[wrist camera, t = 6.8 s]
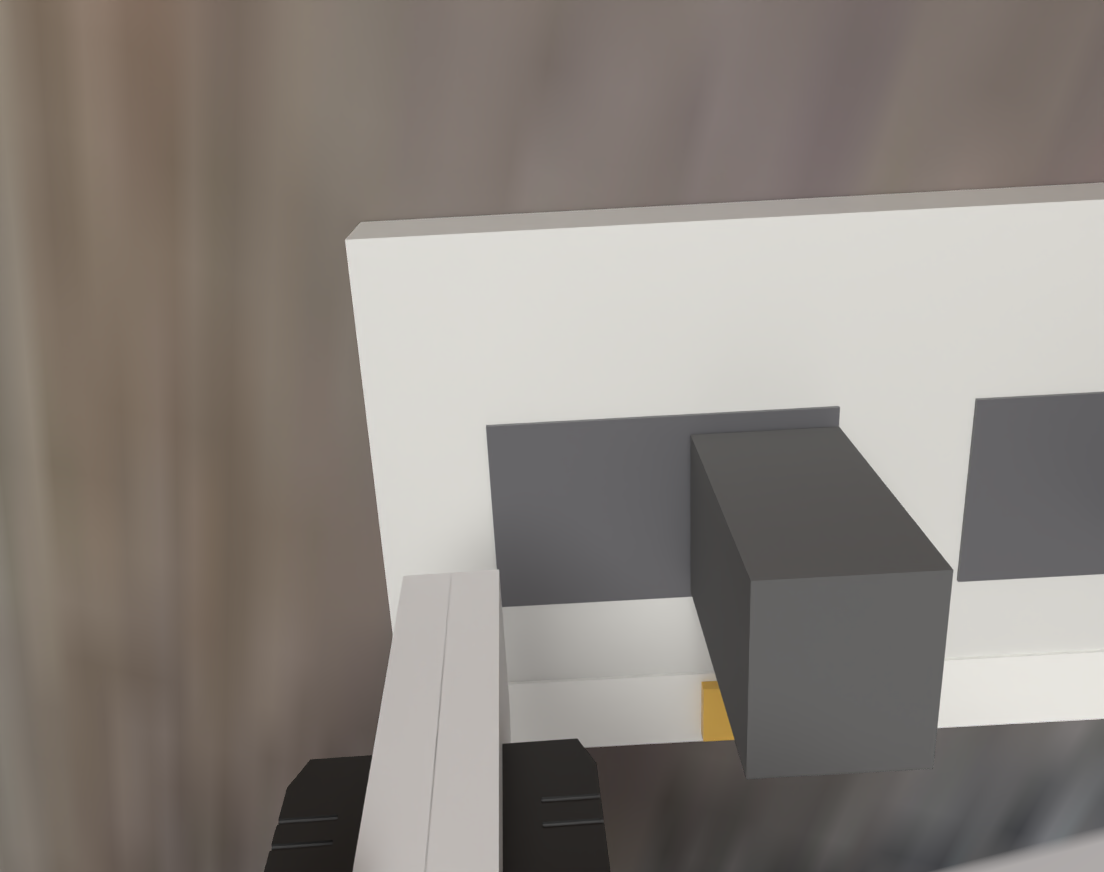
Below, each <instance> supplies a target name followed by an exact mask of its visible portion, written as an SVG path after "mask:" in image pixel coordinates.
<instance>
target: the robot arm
mask: <svg viewBox="0 0 1104 872" xmlns="http://www.w3.org/2000/svg"><path fill="white" fill-rule="evenodd" d="M264 872H610V866H609V858H608V850H607V842H606V835H605V827H604V821H603V811H602V804H601V798H600V788H599V780H598V773H597V765H596V762H595V761H594V760H593V758H592V757H591V756H590V754H589V753H588V752H587V750H586V749H585V748H584V747H583V745H582V744H581V743H580V741H579V740H578V739H577V738H575V739H561V740H547V741H533V742H518V743H511V730H510V703H509V691H508V678H507V665H506V652H505V639H504V626H503V613H502V600H501V587H500V574H499V569H498V570H483V571H468V572H453V573H438V574H423V575H407V576H403V581H402V587H401V592H400V598H399V604H398V610H397V616H396V622H395V627H394V633H393V639H392V645H391V651H390V656H389V662H388V668H387V674H386V680H385V686H384V691H383V697H382V703H381V709H380V715H379V720H378V726H377V732H376V738H375V744H374V750H373V755H370V756H355V757H341V758H327V759H313V760H310V761H309V762H308V763H307V764H306V766H305V767H304V768H303V769H302V770H301V772H300V773H299V774H298V775H297V777H296V778H295V779H294V780H293V781H292V783H291V784H290V785H289V786H288V787H287V790H286V794H285V797H284V801H283V805H282V808H281V812H280V816H279V825H277V827H276V830H275V834H274V837H273V841H272V850H271V851H270V852H269V856H268V859H267V863H266V867H265V870H264Z"/></svg>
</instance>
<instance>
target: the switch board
mask: <svg viewBox="0 0 1104 872" xmlns="http://www.w3.org/2000/svg"><path fill="white" fill-rule="evenodd" d="M345 243H346V251H347V259H348V268H349V276H350V284H351V293H352V301H353V309H354V317H355V326H356V334H357V342H358V351H359V359H360V367H361V376H362V384H363V392H364V400H365V409H366V417H367V425H368V434H369V442H370V450H371V458H372V467H373V475H374V483H375V492H376V500H377V508H378V516H379V525H380V533H381V541H382V550H383V558H384V566H385V574H386V583H387V591H388V599H389V608H390V616H391V624H392V632H393V633H394V627H395V622H396V616H397V610H398V604H399V598H400V592H401V587H402V581H403V576H407V575H423V574H438V573H453V572H468V571H483V570H498V569H499V574H500V587H501V600H502V613H503V626H504V639H505V652H506V665H507V678H508V691H509V703H510V730H511V743H518V742H533V741H547V740H561V739H575V738H577V739H578V740H579V741H580V743H581V744H582V745H583V747H584V748H588V747H606V746H624V745H642V744H660V743H678V742H696V741H721V740H735V739H734V736H733V733H732V729H731V726H730V723H729V719H728V716H727V712H726V709H725V706H724V702H723V699H722V696H721V692H720V689H719V685H718V682H717V679H716V675H715V672H714V669H713V665H712V662H711V658H710V655H709V652H708V648H707V645H706V642H705V638H704V635H703V631H702V628H701V625H700V621H699V618H698V615H697V611H696V608H695V604H694V601H693V598H692V594H691V435H696V434H715V433H733V432H752V431H770V430H789V429H807V428H825V427H840V428H841V430H842V431H843V432H844V433H845V435H846V436H847V437H848V438H849V440H850V441H851V442H852V443H853V445H854V446H855V447H856V448H857V450H858V451H859V452H860V453H861V455H862V456H863V457H864V458H865V460H866V461H867V462H868V463H869V465H870V466H871V467H872V468H873V470H874V471H875V472H876V473H877V475H878V476H879V477H880V478H881V480H882V481H883V482H884V483H885V485H886V486H887V487H888V488H889V490H890V491H891V492H892V493H893V495H894V496H895V497H896V498H897V500H898V501H899V502H900V503H901V505H902V506H903V507H904V508H905V510H906V511H907V512H908V513H909V515H910V516H911V517H912V518H913V520H914V521H915V522H916V523H917V525H918V526H919V527H920V529H921V530H922V531H923V532H924V534H925V535H926V536H927V537H928V539H929V540H930V541H931V542H932V544H933V545H934V546H935V547H936V549H937V550H938V551H939V552H940V554H941V555H942V556H943V557H944V559H945V560H946V561H947V562H948V564H949V565H950V566H951V567H952V569H953V580H952V590H951V600H950V609H949V619H948V629H947V639H946V648H945V658H944V668H943V678H942V688H941V697H940V707H939V717H938V727H937V728H948V727H966V726H984V725H1002V724H1020V723H1038V722H1056V721H1074V720H1092V719H1104V183H1086V184H1067V185H1048V186H1029V187H1010V188H992V189H973V190H954V191H935V192H916V193H898V194H879V195H860V196H841V197H822V198H804V199H785V200H766V201H747V202H728V203H710V204H691V205H672V206H653V207H634V208H616V209H597V210H578V211H559V212H540V213H521V214H503V215H484V216H465V217H446V218H427V219H409V220H390V221H371V222H360V223H359V225H358V226H357V227H356V228H355V229H354V230H353V231H352V233H351V234H350V235H349V236H348V237H347V238H346V239H345Z"/></svg>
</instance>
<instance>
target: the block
mask: <svg viewBox="0 0 1104 872" xmlns="http://www.w3.org/2000/svg"><path fill="white" fill-rule="evenodd" d="M952 580H953V569H952V567H951V566H950V565H949V564H948V562H947V561H946V560H945V559H944V557H943V556H942V555H941V554H940V552H939V551H938V550H937V549H936V547H935V546H934V545H933V544H932V542H931V541H930V540H929V539H928V537H927V536H926V535H925V534H924V532H923V531H922V530H921V529H920V527H919V526H918V525H917V523H916V522H915V521H914V520H913V518H912V517H911V516H910V515H909V513H908V512H907V511H906V510H905V508H904V507H903V506H902V505H901V503H900V502H899V501H898V500H897V498H896V497H895V496H894V495H893V493H892V492H891V491H890V490H889V488H888V487H887V486H886V485H885V483H884V482H883V481H882V480H881V478H880V477H879V476H878V475H877V473H876V472H875V471H874V470H873V468H872V467H871V466H870V465H869V463H868V462H867V461H866V460H865V458H864V457H863V456H862V455H861V453H860V452H859V451H858V450H857V448H856V447H855V446H854V445H853V443H852V442H851V441H850V440H849V438H848V437H847V436H846V435H845V433H844V432H843V431H842V430H841V428H840V427H825V428H807V429H789V430H770V431H752V432H733V433H715V434H696V435H691V594H692V598H693V601H694V604H695V608H696V611H697V615H698V618H699V621H700V625H701V628H702V631H703V635H704V638H705V642H706V645H707V648H708V652H709V655H710V658H711V662H712V665H713V669H714V672H715V675H716V679H717V682H718V685H719V689H720V692H721V696H722V699H723V702H724V706H725V709H726V712H727V716H728V719H729V723H730V726H731V729H732V733H733V736H734V739H735V743H736V746H737V750H738V753H739V756H740V760H741V763H742V766H743V770H744V773H745V777H746V779H759V778H777V777H795V776H813V775H831V774H848V773H866V772H884V771H902V770H920V769H933V766H934V756H935V746H936V736H937V727H938V717H939V707H940V697H941V688H942V678H943V668H944V658H945V648H946V639H947V629H948V619H949V609H950V600H951V590H952Z"/></svg>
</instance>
